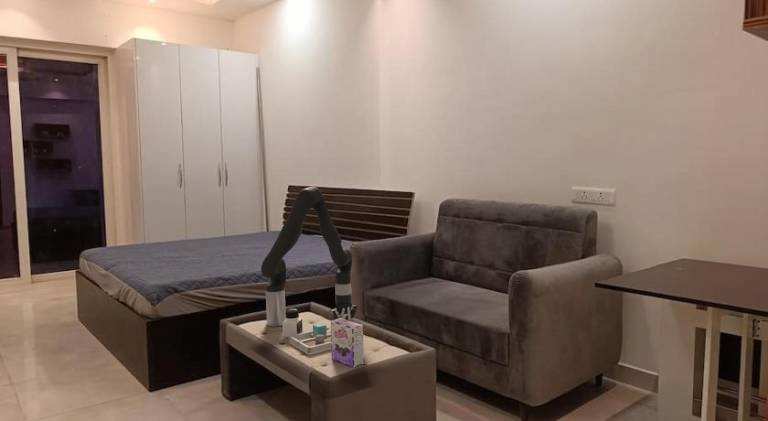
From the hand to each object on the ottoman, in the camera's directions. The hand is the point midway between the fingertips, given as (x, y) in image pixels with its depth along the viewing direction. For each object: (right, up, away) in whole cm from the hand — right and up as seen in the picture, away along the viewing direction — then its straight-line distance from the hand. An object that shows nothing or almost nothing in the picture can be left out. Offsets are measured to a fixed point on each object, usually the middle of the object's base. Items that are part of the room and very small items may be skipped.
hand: (344, 328), depth 257 cm
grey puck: (-9, -2, -18) cm, 20 cm away
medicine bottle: (-24, -3, -1) cm, 24 cm away
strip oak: (-6, -3, -4) cm, 7 cm away
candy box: (+4, -6, -34) cm, 35 cm away
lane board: (-10, -4, -13) cm, 17 cm away
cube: (-11, -1, -8) cm, 13 cm away
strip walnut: (-7, -4, -16) cm, 18 cm away
